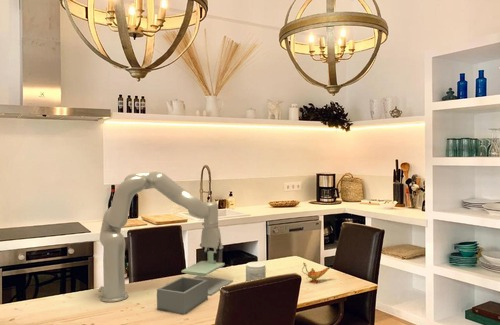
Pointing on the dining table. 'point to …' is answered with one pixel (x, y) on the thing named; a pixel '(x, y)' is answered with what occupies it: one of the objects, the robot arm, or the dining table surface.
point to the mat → (214, 283)
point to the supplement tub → (255, 271)
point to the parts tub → (182, 295)
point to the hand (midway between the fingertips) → (211, 259)
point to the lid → (204, 266)
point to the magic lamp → (315, 274)
